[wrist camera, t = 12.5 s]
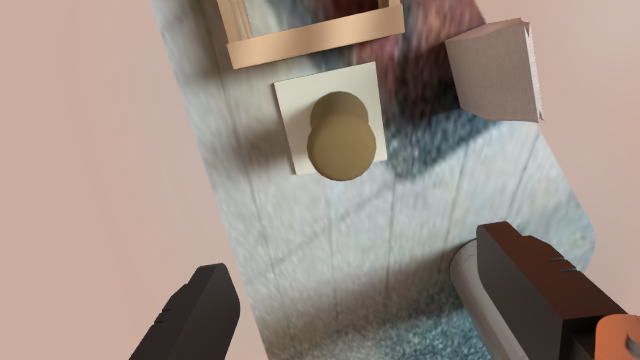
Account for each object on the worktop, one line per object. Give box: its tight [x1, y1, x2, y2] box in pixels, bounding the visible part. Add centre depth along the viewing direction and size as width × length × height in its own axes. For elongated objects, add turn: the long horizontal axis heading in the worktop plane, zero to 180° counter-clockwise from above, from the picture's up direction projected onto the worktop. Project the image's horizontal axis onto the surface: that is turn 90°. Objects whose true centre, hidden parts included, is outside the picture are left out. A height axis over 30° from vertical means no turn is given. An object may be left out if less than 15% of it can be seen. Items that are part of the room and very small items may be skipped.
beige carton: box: [445, 18, 544, 123], centre depth 25 cm, size 4×7×10 cm, turn 23°
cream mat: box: [274, 62, 387, 175], centre depth 32 cm, size 10×10×1 cm
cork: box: [307, 91, 377, 181], centre depth 27 cm, size 6×6×11 cm
